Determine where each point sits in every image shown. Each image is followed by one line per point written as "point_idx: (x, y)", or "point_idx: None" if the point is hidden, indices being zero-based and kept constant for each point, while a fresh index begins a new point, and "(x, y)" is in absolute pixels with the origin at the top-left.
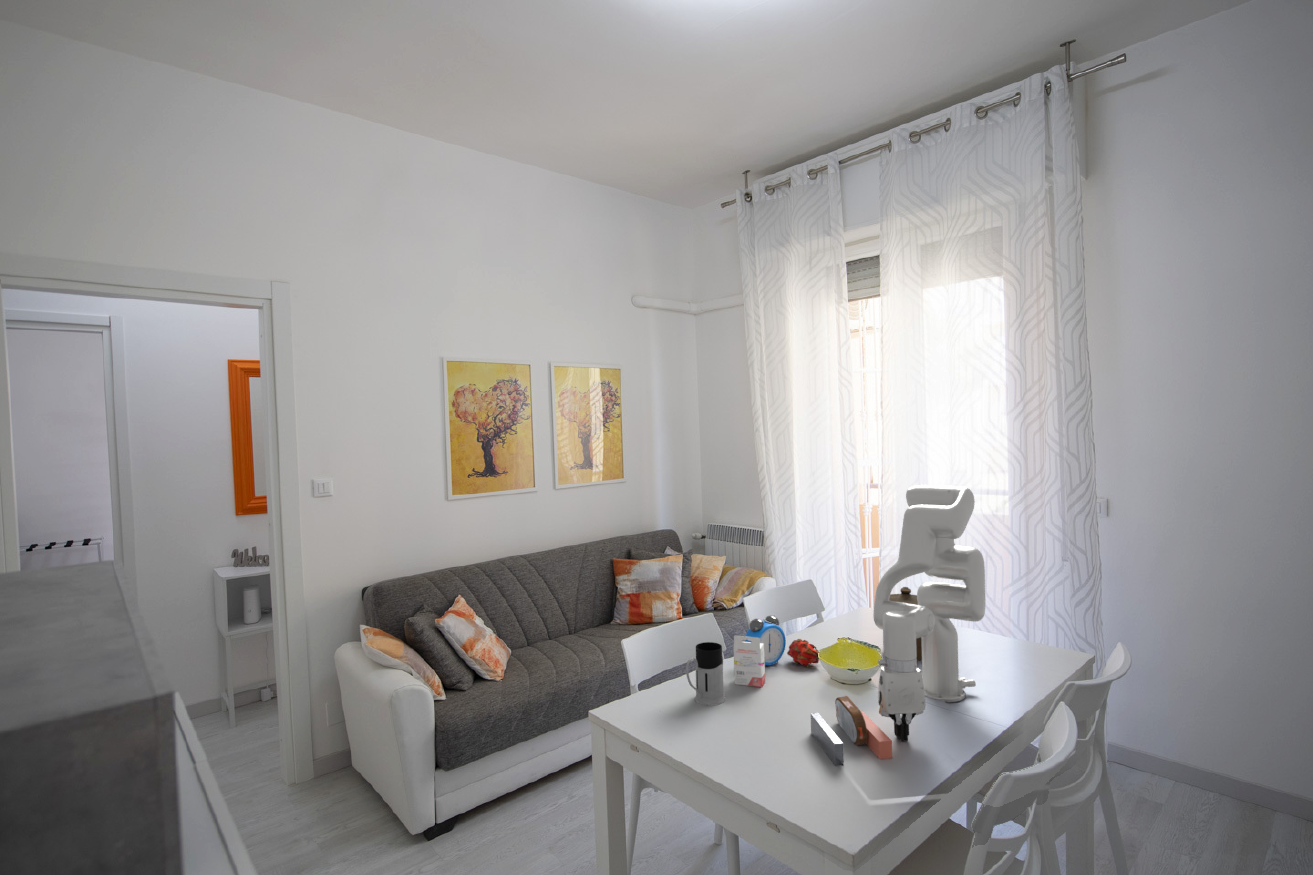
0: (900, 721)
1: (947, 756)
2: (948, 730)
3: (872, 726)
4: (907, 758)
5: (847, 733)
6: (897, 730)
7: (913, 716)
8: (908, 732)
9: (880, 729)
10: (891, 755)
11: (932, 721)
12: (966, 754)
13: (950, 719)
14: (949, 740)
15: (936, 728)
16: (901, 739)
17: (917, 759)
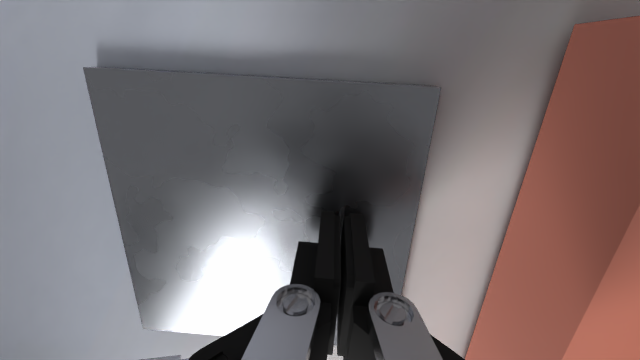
0: (374, 318)
1: (146, 6)
2: (42, 277)
3: (627, 324)
4: (429, 40)
5: None
6: (385, 270)
7: (222, 344)
8: (300, 250)
9: (612, 265)
10: (595, 23)
11: (93, 356)
12: (9, 4)
13: (5, 352)
14: (67, 190)
15: (95, 305)
16: (363, 219)
17: (370, 10)
